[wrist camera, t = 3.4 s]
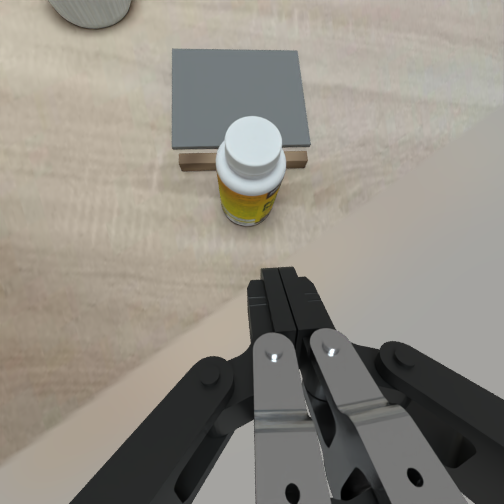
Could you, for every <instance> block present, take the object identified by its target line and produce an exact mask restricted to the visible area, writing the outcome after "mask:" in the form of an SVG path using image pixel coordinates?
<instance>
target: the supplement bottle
mask: <svg viewBox="0 0 504 504" xmlns="http://www.w3.org/2000/svg"><path fill="white" fill-rule="evenodd" d="M216 170H217V177H218V184H219V191H220V198H221V205H222V208H223V211H224V213H225V215H226V216H227V217H228V218H229V219H230V220H231V221H233V222H234V223H236V224H239V225H243V226H251V225H256V224H258V223H260V222H262V221H263V220H264V219H265V218H266V217H267V216H268V215H269V213H270V211H271V209H272V206H273V203H274V201H275V198H276V195H277V193H278V190H279V188H280V185H281V182H282V180H283V177H284V174H285V170H286V157H285V154H284V151H283V149H282V137H281V134H280V132H279V130H278V129H277V127H276V126H275V125H274V124H273V123H271V122H270V121H268V120H267V119H264V118H261V117H257V116H248V117H243V118H240V119H238V120H236V121H235V122H234V123H232V124H231V125H230V127H229V128H228V130H227V132H226V135H225V140H224V141H223V142H222V144H221V145H220V147H219V149H218V151H217V155H216Z"/></svg>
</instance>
